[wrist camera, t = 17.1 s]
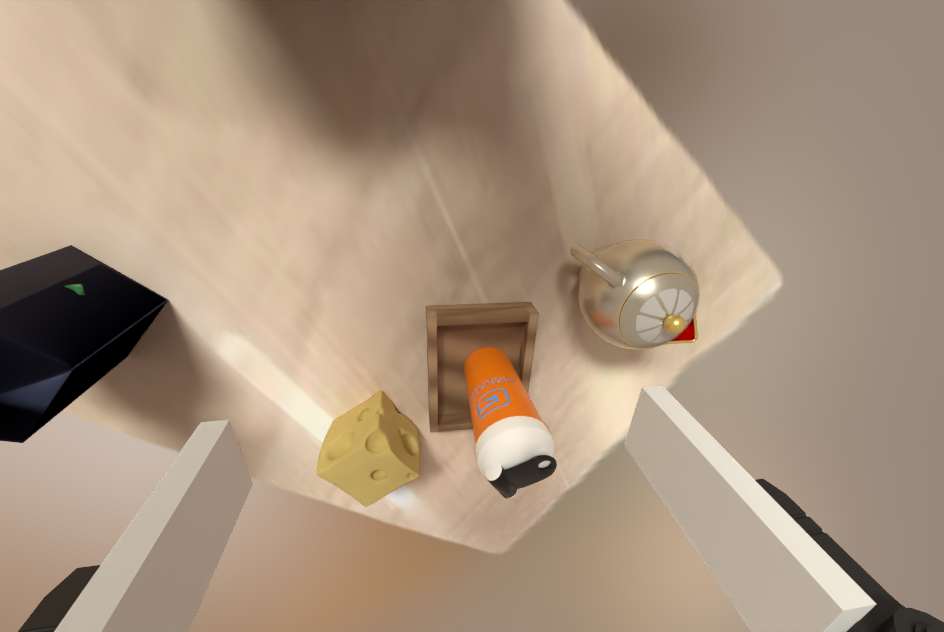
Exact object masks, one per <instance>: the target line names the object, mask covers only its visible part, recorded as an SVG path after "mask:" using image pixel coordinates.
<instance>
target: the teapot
mask: <svg viewBox="0 0 944 632" xmlns="http://www.w3.org/2000/svg"><path fill="white" fill-rule="evenodd" d="M570 253H571V255H573V256H574V257H575V258H576V259H578V260H579V261H580V262H582V263H583V266H582V268H581V270H580V274H579V305H580V309H581V312H582V315H583V317H584V319H585V321H586V323H587V324H588V326H589V327H590V328H591V330H592V331H593V332H594V333H595V334H596V335H598V336H599V337H600V338H602V339H603V340H605V341H606V342H608V343H610V344H612V345H615V346H618V347H621V348H625V349H633V350H642V349H650V348H654V347H658V346H661V345H664V344H674V343H692V342H695V341H696V340H697V338H698V333H697V322H696V311H697V307H698V303H699V284H698V280H697V277H696V274H695V272H694V270H693V268H692V266H691V265H690V263H689V262H688V261H687V260H686V259H685V258H684V257H683V256H682V255H681V254H680V253H679V252H677V251H676V250H675V249H673V248H671V247H669V246H667V245H665V244H662V243H659V242H656V241H651V240H630V241H625V242H621V243H618V244H616V245H610V246H606V247H603V248H600V249H598V250H597V251H595V252H594V253H593V254H591V253H589V252H588V251H587V250H585V249H584V248H582V247H581V246H579V245H575V246H573V247H571V252H570Z"/></svg>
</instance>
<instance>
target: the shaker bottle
mask: <svg viewBox="0 0 944 632" xmlns="http://www.w3.org/2000/svg"><path fill="white" fill-rule="evenodd" d="M464 373H465V379H466V386H467V392H468V399H469V405H470V412H471V418H472V425H473V431H474V438H475V456H476V460H477V465H478V468H479V471H480V472H481V474H482V475H483V476H484V477H485V478H486V479H487V480H488V481H489V482H490V483H491V484H492V485H493V486H494V487H495V489H496V490H497V491H498V492H499V493H500V494H501V495H502V496H503V497H504V498H507V499H510V498H513V497H514V496H515V495H516V494H517V492H518V489H519V488H523V487H526V486H529V485H531V484H534V483H536V482H539V481H541V480H543V479H545V478H547V477H549V476H550V475H552V474H553V472H554V471H555V469H556V466H557V464H556V460H555V459H554V455H555V449H556V447H555V442H554V440H553V438H552V436H551V434H550V431H549V429H548V427H547V426H546V424H545V423H544V422H542V420H541V418H540V416H539V414H538V412H537V411H536V409H535V407H534V405H533V403H532V401H531V399H530V397H529V395H528V394H527V392H526V390H525V388H524V386H523V384H522V382H521V380H520V378H519V376H518V375H517V373H516V371H515V369H514V367H513V365H512V363H511V361H510V359H509V358H508V356H507V354H506V353H505V352H504V351H502V350H501V349H498V348H495V347H484V348H481V349H478V350H476V351H475V352H473V353H472V354H471V355H470V356H469V357H468V358H467V360H466V362H465V366H464Z"/></svg>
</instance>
